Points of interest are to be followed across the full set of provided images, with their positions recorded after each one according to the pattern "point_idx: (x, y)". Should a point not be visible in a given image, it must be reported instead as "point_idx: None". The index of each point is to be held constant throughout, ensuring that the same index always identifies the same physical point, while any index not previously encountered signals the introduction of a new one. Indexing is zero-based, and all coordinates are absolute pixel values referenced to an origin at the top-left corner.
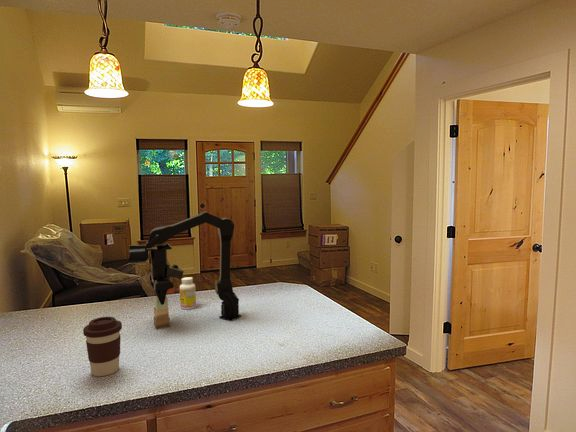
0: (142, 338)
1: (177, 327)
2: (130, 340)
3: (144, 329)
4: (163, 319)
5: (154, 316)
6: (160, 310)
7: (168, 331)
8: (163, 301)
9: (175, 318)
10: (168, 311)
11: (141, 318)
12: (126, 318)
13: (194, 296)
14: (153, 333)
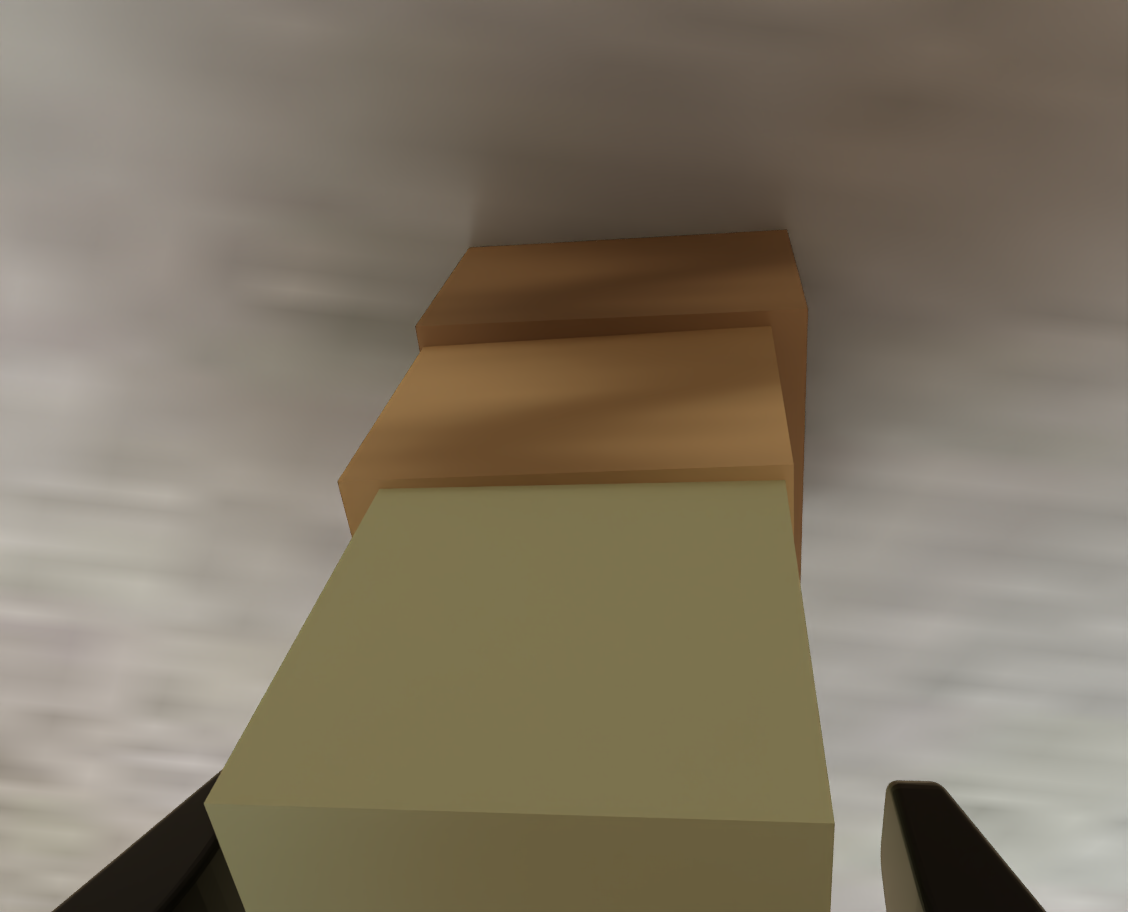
0: (1122, 742)
1: (951, 56)
2: (1077, 874)
3: None
4: (803, 460)
5: None
6: None
7: (1088, 301)
8: None
9: (238, 23)
10: (783, 415)
11: (82, 649)
12: (41, 814)
13: None
14: (996, 573)
